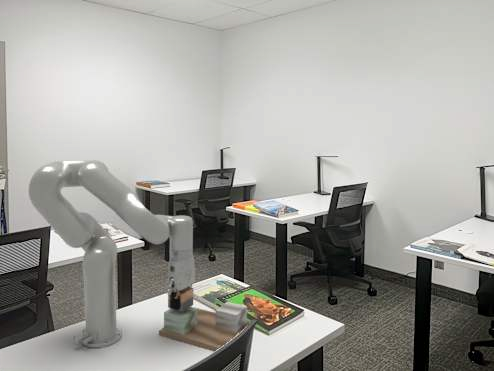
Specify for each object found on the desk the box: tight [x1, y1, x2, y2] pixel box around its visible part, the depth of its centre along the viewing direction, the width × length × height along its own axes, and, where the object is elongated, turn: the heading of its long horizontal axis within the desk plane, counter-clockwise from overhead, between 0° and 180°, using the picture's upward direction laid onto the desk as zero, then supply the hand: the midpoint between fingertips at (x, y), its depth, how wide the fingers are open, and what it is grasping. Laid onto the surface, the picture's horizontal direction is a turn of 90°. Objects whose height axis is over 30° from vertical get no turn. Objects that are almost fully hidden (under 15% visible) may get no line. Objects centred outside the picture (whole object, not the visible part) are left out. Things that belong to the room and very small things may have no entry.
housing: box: [167, 287, 194, 311], centre depth 142 cm, size 6×6×7 cm
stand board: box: [158, 301, 252, 352], centre depth 145 cm, size 21×24×8 cm
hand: (180, 304), depth 142 cm, fingers closed on housing, 6 cm apart
